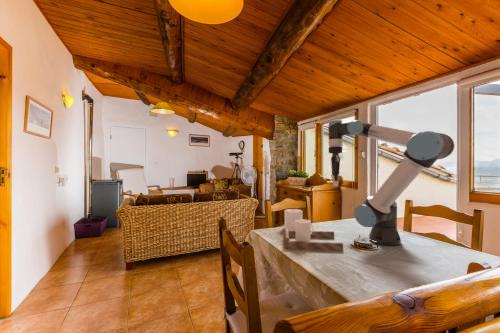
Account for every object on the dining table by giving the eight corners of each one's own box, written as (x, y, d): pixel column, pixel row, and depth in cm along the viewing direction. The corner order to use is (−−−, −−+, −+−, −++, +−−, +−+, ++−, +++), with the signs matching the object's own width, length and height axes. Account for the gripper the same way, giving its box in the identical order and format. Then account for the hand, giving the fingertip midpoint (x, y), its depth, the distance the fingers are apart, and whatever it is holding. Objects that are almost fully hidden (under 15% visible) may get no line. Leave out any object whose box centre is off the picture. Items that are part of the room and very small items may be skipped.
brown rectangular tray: (333, 237, 138) (333, 228, 138) (343, 250, 117) (343, 240, 117) (284, 235, 141) (284, 227, 141) (285, 248, 120) (285, 238, 120)
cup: (284, 230, 152) (284, 212, 152) (284, 226, 164) (284, 208, 163) (303, 231, 150) (303, 212, 150) (302, 226, 162) (302, 209, 161)
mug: (308, 238, 136) (308, 217, 136) (319, 242, 129) (318, 220, 128) (291, 241, 131) (291, 220, 131) (301, 246, 123) (301, 223, 123)
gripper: (326, 147, 147) (326, 185, 147) (331, 145, 134) (331, 187, 135) (339, 147, 146) (339, 185, 147) (344, 145, 133) (345, 187, 134)
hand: (335, 186), depth 141 cm, fingers closed
